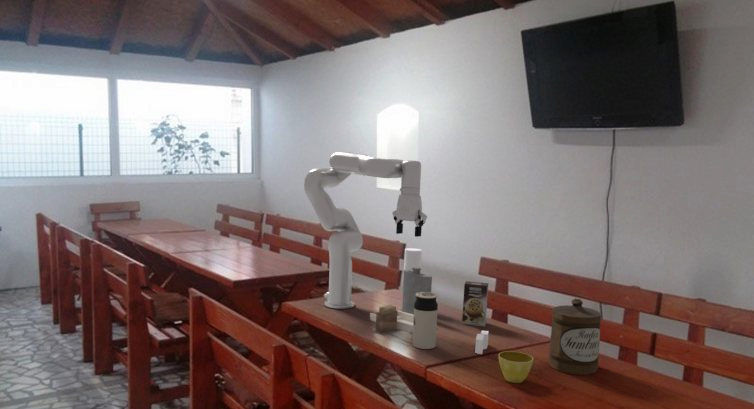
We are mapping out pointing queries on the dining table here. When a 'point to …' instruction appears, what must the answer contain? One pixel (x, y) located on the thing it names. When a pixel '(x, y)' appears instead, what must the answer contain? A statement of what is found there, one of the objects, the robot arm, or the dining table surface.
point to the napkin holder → (481, 342)
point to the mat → (386, 332)
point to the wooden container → (575, 339)
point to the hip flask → (414, 287)
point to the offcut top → (387, 308)
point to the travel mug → (425, 320)
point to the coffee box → (475, 303)
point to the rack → (400, 320)
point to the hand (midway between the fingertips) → (408, 234)
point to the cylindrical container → (412, 258)
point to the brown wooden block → (386, 321)
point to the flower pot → (515, 365)
